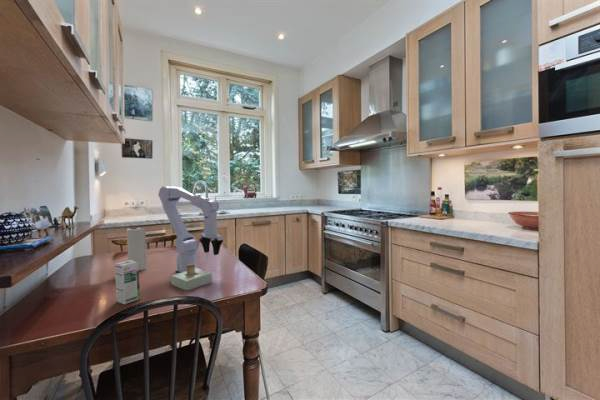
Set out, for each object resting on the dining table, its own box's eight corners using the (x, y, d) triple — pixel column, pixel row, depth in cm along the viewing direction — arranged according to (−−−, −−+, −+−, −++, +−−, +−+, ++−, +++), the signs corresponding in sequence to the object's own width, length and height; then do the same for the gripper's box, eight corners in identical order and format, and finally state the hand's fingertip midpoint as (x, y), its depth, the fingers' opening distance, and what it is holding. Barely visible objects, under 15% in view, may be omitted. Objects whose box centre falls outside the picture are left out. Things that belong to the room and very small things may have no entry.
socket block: (171, 284, 118) (171, 275, 118) (196, 276, 128) (196, 268, 127) (186, 290, 111) (186, 280, 111) (212, 282, 120) (211, 273, 120)
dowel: (186, 283, 119) (185, 265, 119) (193, 281, 121) (192, 263, 121) (189, 285, 117) (188, 266, 116) (196, 283, 119) (195, 265, 119)
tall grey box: (125, 271, 137) (123, 229, 136) (135, 267, 143) (133, 227, 142) (137, 272, 136) (135, 229, 134) (147, 268, 141) (145, 227, 140)
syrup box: (124, 305, 98) (122, 265, 97) (116, 301, 101) (114, 262, 100) (140, 299, 103) (138, 261, 102) (132, 296, 106) (130, 259, 105)
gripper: (194, 225, 132) (195, 253, 133) (212, 227, 123) (213, 257, 124) (207, 223, 138) (208, 250, 138) (225, 225, 129) (226, 254, 129)
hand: (211, 253), depth 131 cm, fingers open, 7 cm apart
